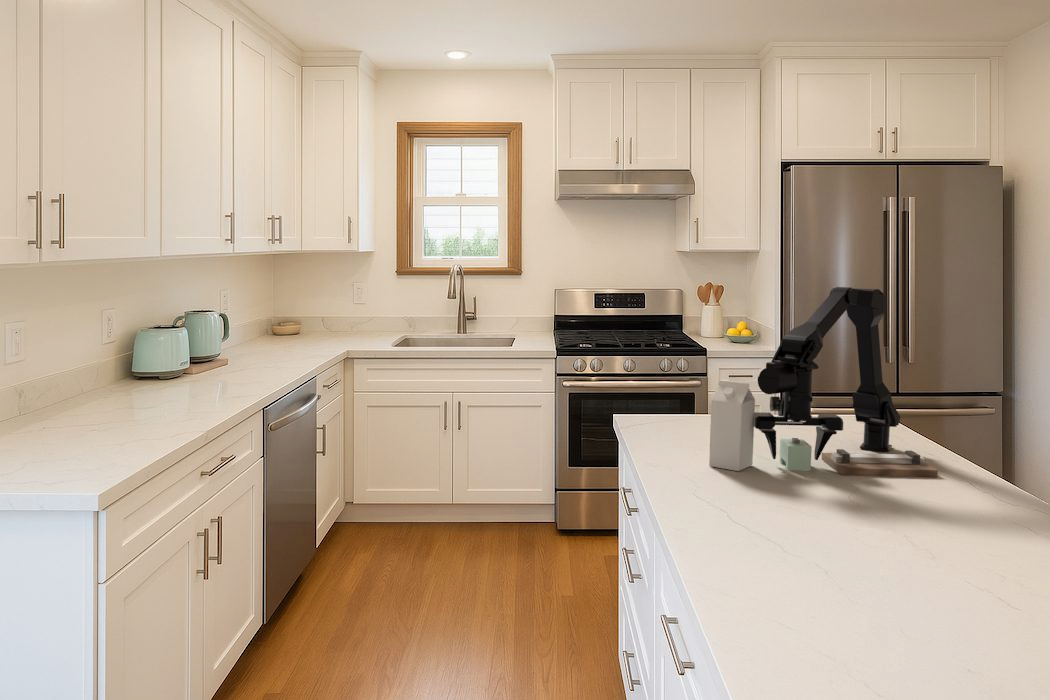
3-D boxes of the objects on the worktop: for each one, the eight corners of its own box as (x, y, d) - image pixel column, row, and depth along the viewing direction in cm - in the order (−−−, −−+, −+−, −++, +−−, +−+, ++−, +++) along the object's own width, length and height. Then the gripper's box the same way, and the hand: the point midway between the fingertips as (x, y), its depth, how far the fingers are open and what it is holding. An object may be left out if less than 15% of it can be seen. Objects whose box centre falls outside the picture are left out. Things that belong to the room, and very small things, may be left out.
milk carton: (723, 460, 185) (725, 378, 183) (752, 465, 180) (755, 381, 178) (708, 466, 179) (711, 382, 177) (739, 472, 175) (742, 385, 173)
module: (801, 462, 183) (802, 435, 183) (810, 470, 176) (811, 442, 176) (779, 462, 184) (780, 435, 183) (787, 470, 177) (788, 442, 176)
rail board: (910, 460, 185) (911, 445, 185) (937, 477, 171) (938, 461, 171) (821, 459, 187) (822, 444, 186) (841, 475, 173) (841, 459, 172)
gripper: (829, 385, 186) (826, 451, 187) (747, 384, 187) (745, 450, 189) (845, 393, 175) (842, 463, 176) (758, 391, 176) (755, 461, 177)
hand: (795, 459), depth 180 cm, fingers open, 9 cm apart
